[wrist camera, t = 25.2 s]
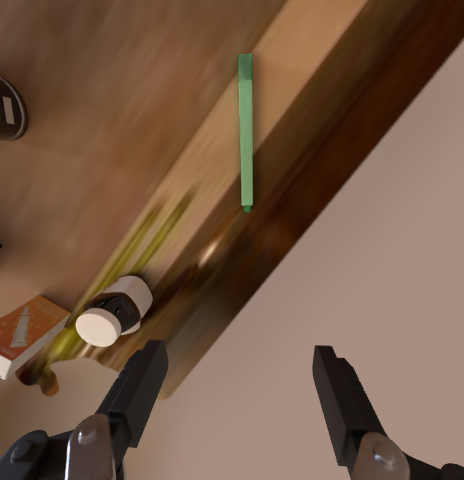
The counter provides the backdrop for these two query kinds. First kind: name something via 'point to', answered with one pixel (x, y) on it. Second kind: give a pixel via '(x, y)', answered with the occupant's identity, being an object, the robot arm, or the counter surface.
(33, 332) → the small box
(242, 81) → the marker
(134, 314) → the spread jar
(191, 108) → the counter surface
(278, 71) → the counter surface
